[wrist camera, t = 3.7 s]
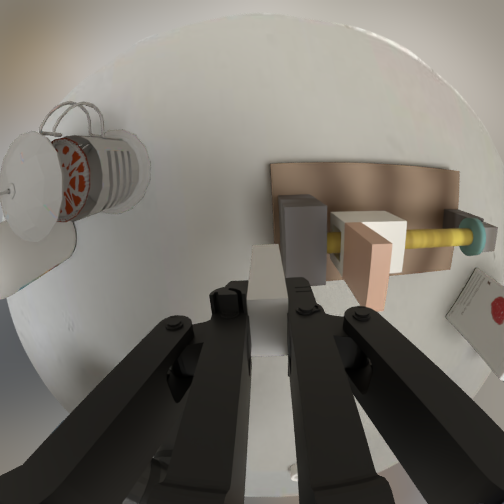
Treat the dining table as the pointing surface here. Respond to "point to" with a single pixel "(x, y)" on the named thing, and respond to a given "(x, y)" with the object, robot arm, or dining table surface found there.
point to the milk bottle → (32, 255)
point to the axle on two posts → (370, 199)
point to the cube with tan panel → (369, 252)
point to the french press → (70, 177)
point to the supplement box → (482, 319)
